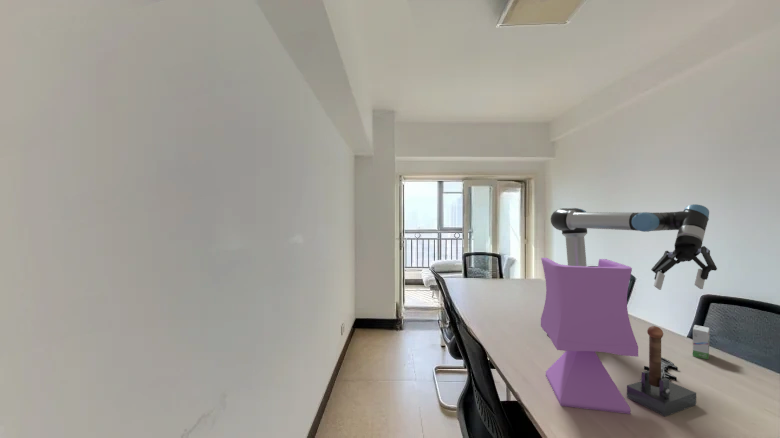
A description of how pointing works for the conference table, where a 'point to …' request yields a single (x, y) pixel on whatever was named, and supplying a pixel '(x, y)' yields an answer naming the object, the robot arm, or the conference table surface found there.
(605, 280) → the purple pedestal vase
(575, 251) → the robot arm
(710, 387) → the conference table surface
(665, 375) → the nameplate
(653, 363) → the lever
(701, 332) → the ink box
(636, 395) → the press base
